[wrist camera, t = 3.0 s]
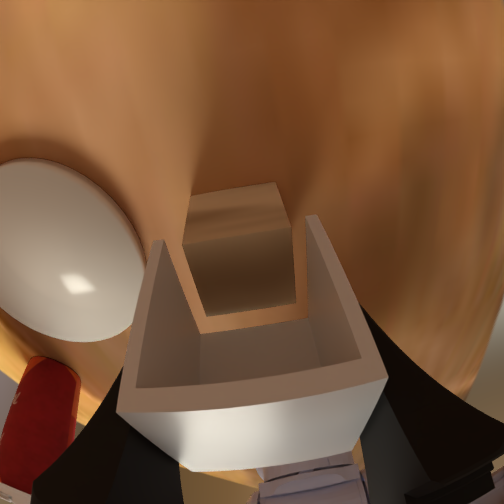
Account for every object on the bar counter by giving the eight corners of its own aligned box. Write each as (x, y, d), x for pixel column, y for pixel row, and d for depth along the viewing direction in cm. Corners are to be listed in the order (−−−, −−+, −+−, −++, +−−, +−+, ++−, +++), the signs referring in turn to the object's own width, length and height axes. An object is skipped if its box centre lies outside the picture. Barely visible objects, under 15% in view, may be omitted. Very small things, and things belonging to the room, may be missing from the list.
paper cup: (6, 346, 21) (-33, 481, 10) (67, 350, 21) (34, 513, 10) (46, 390, 26) (25, 506, 14) (105, 396, 26) (91, 527, 15)
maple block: (282, 249, 17) (296, 303, 14) (208, 260, 17) (206, 316, 14) (275, 181, 14) (291, 227, 11) (190, 195, 14) (182, 244, 11)
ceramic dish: (149, 342, 21) (147, 354, 20) (-1, 313, 18) (-5, 322, 17) (152, 166, 13) (147, 174, 12) (-47, 157, 11) (-57, 165, 10)
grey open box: (316, 321, 14) (351, 450, 9) (194, 340, 14) (192, 471, 9) (316, 214, 10) (388, 377, 5) (152, 241, 10) (116, 412, 5)
